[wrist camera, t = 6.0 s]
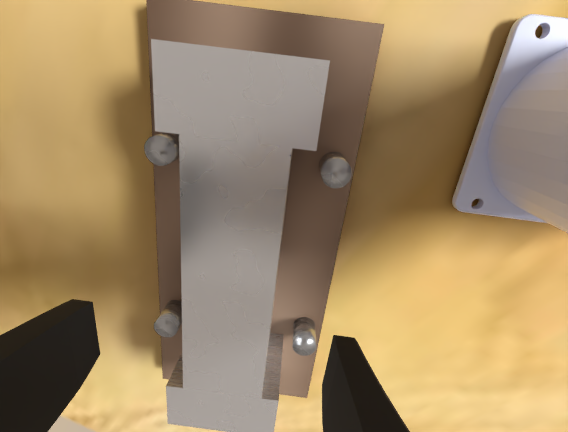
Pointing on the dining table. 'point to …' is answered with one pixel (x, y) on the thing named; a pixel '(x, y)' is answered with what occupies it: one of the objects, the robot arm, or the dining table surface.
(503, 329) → the dining table surface
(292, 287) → the board
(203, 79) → the gray notched block
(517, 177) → the robot arm
